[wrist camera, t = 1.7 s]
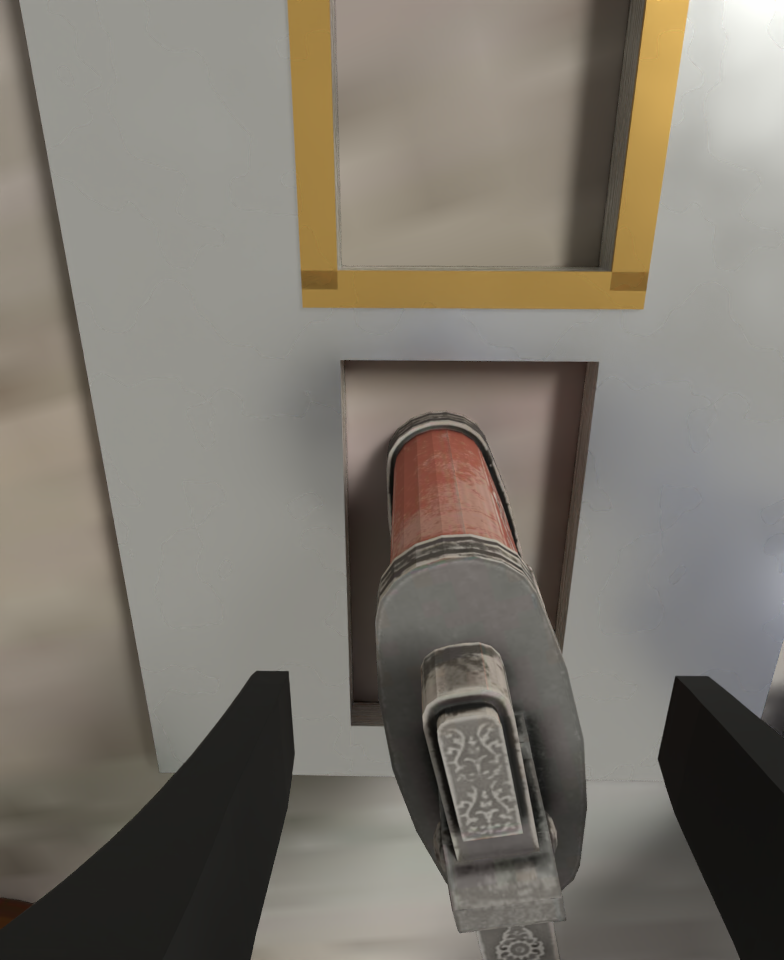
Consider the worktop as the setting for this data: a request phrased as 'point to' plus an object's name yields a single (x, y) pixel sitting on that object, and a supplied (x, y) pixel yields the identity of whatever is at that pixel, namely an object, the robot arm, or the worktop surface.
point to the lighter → (477, 693)
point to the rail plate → (416, 336)
